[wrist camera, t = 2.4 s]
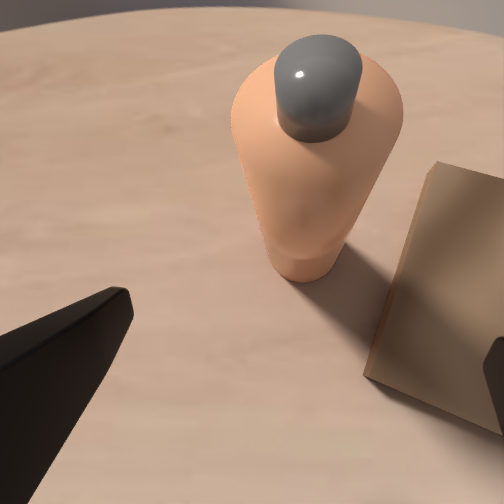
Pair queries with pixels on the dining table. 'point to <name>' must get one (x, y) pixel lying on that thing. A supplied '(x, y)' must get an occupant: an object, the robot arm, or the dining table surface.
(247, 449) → the dining table surface
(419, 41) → the dining table surface
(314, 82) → the peach bottle with cap
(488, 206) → the cardboard sheet
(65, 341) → the robot arm
